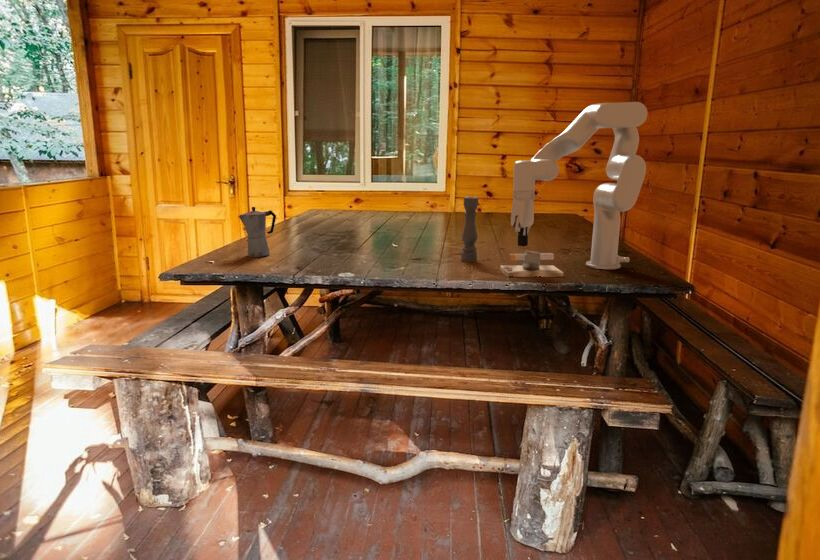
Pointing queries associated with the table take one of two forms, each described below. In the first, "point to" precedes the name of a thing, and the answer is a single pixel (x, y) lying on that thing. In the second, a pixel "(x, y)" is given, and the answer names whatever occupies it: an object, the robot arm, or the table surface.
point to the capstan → (531, 259)
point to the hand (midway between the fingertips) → (522, 245)
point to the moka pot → (257, 231)
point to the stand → (531, 271)
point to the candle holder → (469, 230)
